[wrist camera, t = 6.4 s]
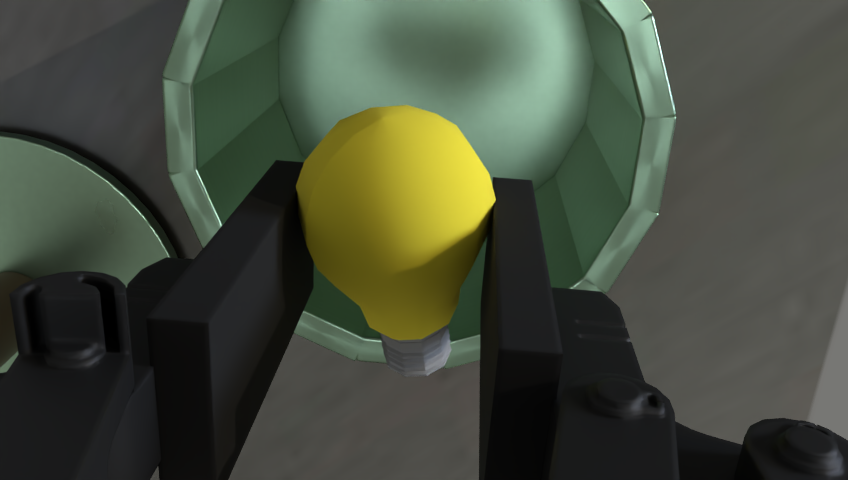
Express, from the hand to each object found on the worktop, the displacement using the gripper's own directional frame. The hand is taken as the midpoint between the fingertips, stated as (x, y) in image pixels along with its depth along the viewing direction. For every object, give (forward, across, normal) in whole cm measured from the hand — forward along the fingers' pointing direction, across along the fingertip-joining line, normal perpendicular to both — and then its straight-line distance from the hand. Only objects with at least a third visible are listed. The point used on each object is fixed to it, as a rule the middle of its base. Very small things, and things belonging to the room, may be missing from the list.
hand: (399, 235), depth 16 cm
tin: (+14, 0, 0) cm, 14 cm away
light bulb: (+1, 0, 0) cm, 1 cm away
